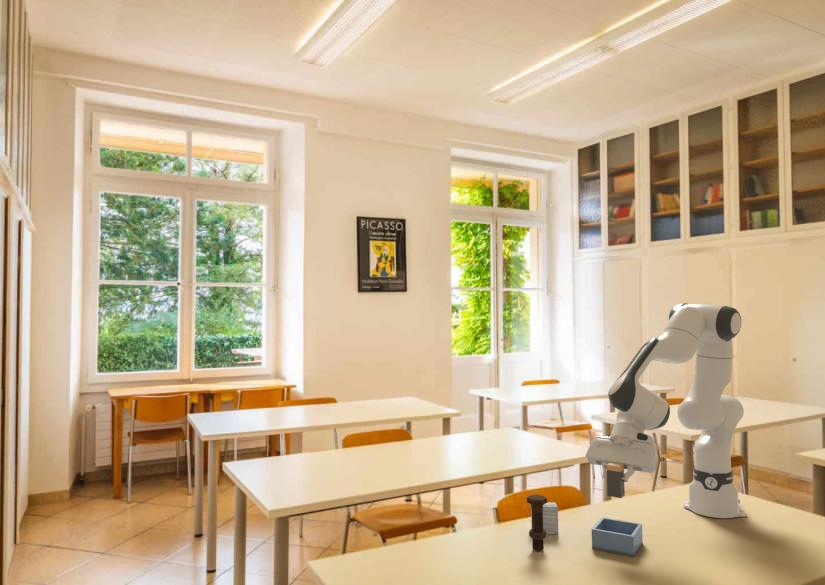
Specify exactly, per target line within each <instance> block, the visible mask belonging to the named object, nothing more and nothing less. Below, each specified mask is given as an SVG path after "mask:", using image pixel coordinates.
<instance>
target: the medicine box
mask: <svg viewBox="0 0 825 585" xmlns="http://www.w3.org/2000/svg"><path fill="white" fill-rule="evenodd" d="M530 517H531V520H530V521H531V526H530V527H532V508H531V507H530ZM543 529H544V530H545V531H546V533H547V535H552V534H558V535H559V534H560V533H559V507H558V505H557V503H556V502H550V501H549V502H548V501H547V503H546V504H544V505H543Z"/></svg>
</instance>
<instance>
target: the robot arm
mask: <svg viewBox="0 0 825 585" xmlns="http://www.w3.org/2000/svg"><path fill="white" fill-rule="evenodd" d="M741 327H742V316H741V313H740V312H739V311H738V309H736V308H734V307H732V306H728V305H718V304H712V303H711V304H710V303H687V302H685V303H677V304H675V305H674V307H672V308H671V309H670V311H669V314H668V321H667V323H666V325H665V326H664V329H663V331H662V333H661V334H660V335H659V336H658V337H651V338H650V339H647V341H646V342H645V343H644V344H643V345H642V346H641V348H640V349H639V350H638V351H637V353H636V354H635V355H634V357H632V360H630V362H629V363H628V365H627V366H626V367H625V369H624V370H623V372H622V373H620V374H621V375H619V377H618V378H617V379H616V380H615V381H614V382H613V384H612V385H611V386H610V387H609V390H608V392H607V395H608V400H609V403H610V406H612V407H613V408H615V409H616V410H618V411H617V413H616V421H615V423H614V425H613V428H612V431H611V433H610V436H609V437H608V436H601V435H599V436H598V435H597V436H596V437H593V438H591V440H590V443H589V446H588V448H587V450H586V453H585V459H586V460H587V462H588V463H589V464H591V465H594V466H595V465H596V466H602V467H601V468H602V470H603V472H602V478H603V479H605V480H607V466H606V465H607V464H609V463H617V464H623V465H624V470H627V471H626V472H624V474H623V473H622V477H621V480H622V481H623V482H624V483H628V482H629V478H630V477H632V476H633V475H634V474H635V472H643V473H647V474H653V473H654V472H655V471H656V470H657V467H658V466H657V464H658V456H657V454H656V453H657V450H658V449H657V445H656V442H655V441H654V438H653V437H652V436H651V435H649V434H646V433H644V432H645V431H652V430H656V429H661V428H662V427H664V426H665V425H666V424H667V423H668V421H669V419H670V416H671V407H670V404H669V402H668V401H666V400H665V399H664V398H662V397H661V396H659V395H658V394H656V393H654V392H652V391H651V390H649V389H648V388H646V387H645V386H643V385H642V384H641V383H640V380H639V379H640V377H641V376H642V375H643V373H644V372H645V371H646V370H647V368H648V367H649V365H650V364H651V363H652V361H656V362H662V363H666V364H675V365H676V364H684V363H686V362H688V361H690V360H692V358H693V357H694V356H695V365H694V374H693V379H692V382H691V385H690V388H689V390H688V393H687V394H686V396H685V398H684V399H683V400H682V402H681V403H680V404H679V405H678V407H677V413H676V414H677V418H678V420H679V422H680V424H681V425H682V426H684V428H686V429H687V430H688V429H689V430H693V431H701V432H700V436H699V437H698V439H697V440H696V441H695V442H694V445H693V455H694V456H693V457H694V467H693V470H692V475H693V481H691V482H690V483H689V485H688V489H689V490H688V501H686V502H685V503H684V504H683V508H684V509H686V510H689V511H691V512H693V513H695V514H698V515H700V516H705V517H707V518H708V517H709V518H714V519H715V518H716V519H732V518H740V517H741V518H742V517H747V513H746V511H745V509H744V507H743V505H742V504H741V499H739V490H738V489H737V487H736V486H735V485H734V474H733V471H732V461H731V460H732V459H731V458H732V456H731V454H732V453H731V452H732V451H731V450H732V442H733V438H734V434H735V432H736V428H737V426H738V424H739V422H740V421H741V420H742V419H743V417H744V415H745V414H744V407H743V404H742V402H741V401H740V400H739V399H738V398H737V397H735V396H732V395H728V394H723V393H724V391H725V389H726V387H727V386H728V385H729V384H730V382H731V380H732V368H733V353H734V352H733V351H734V350H733V340H732V339H734V338H735V337H736V336H737V335H738V334H739V332H740V330H741Z"/></svg>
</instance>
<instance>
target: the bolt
mask: <svg viewBox="0 0 825 585" xmlns="http://www.w3.org/2000/svg"><path fill="white" fill-rule="evenodd" d="M547 502H548V498H547V497H546V496H545V495H542V494H529V495H527V498H526V503H528V504H530V509H531V508H532V526H531V528H530V529H529V531H528V536H529V537H530V538H531V540H532V549H533V550H534V551H536V552H542V551H544V549H545V548H544V545H545V544H544V543H545V541H544V540H545V539H546V537H547V536H548V534H547V533H546V531H545V530H544V529H543V505H544V504H546V503H547Z"/></svg>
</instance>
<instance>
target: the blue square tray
mask: <svg viewBox="0 0 825 585" xmlns="http://www.w3.org/2000/svg"><path fill="white" fill-rule="evenodd" d="M643 541H644V540H643V523H638V522H635V521H634V522H633V521H627V520H620V519H615V518H609V517H601V518H600V519H599V520H598V521H597V523H596V524H594V526H593V527H592V528H591V549H592V550H595V549H597V550H596V551H600V550H602V551H601V552H606V551H607V553H612V554H617V555H622V556H627V557H631V558H635V556H636V554H637V553H638V552H639V550H640V548H641V546H642V545H643Z"/></svg>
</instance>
